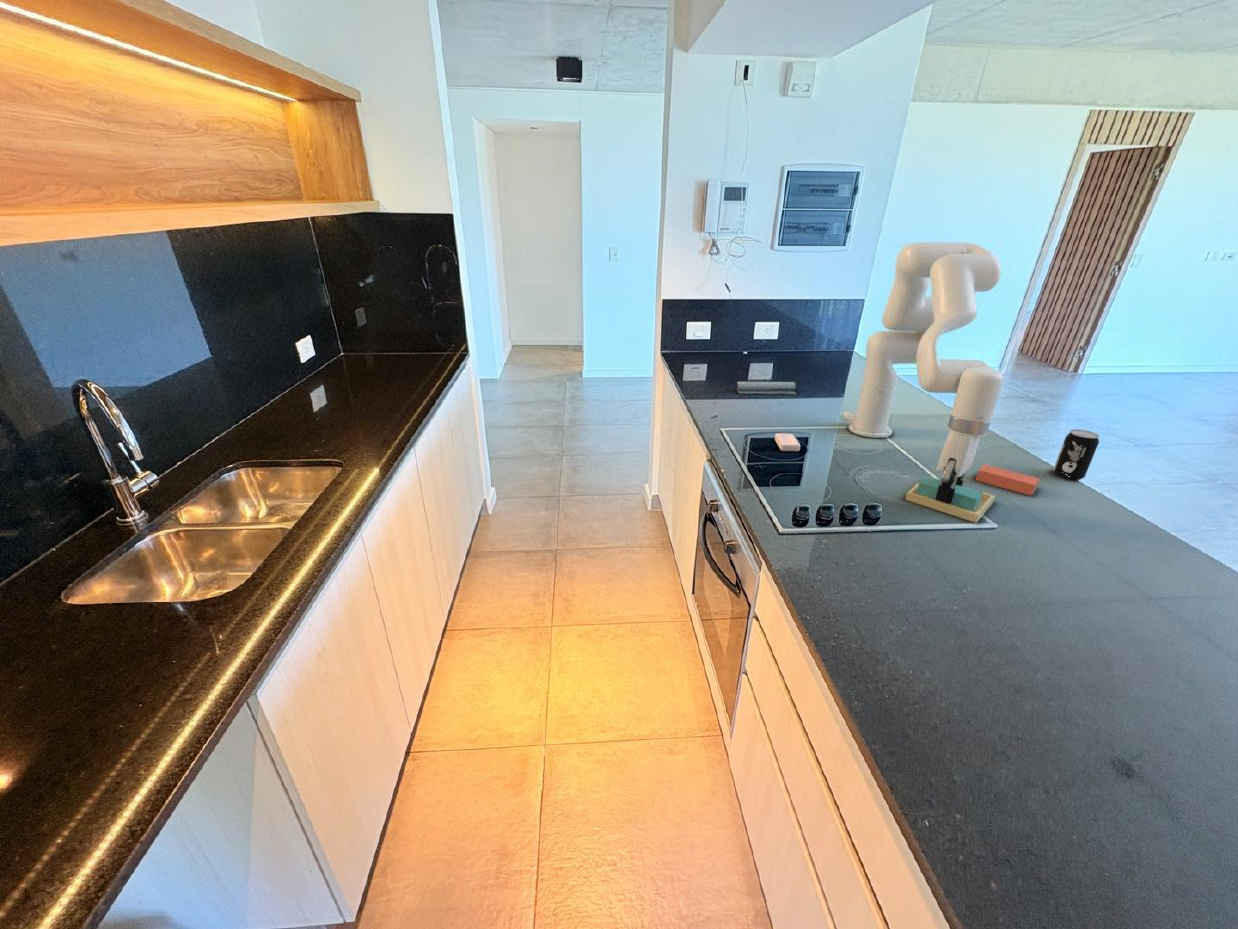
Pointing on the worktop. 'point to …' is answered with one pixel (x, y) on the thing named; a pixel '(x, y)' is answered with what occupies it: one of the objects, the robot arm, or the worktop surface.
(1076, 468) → the beverage can
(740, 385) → the aluminum foil
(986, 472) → the red rectangular block
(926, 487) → the pad
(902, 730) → the worktop surface
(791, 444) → the soap bar
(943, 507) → the tray
